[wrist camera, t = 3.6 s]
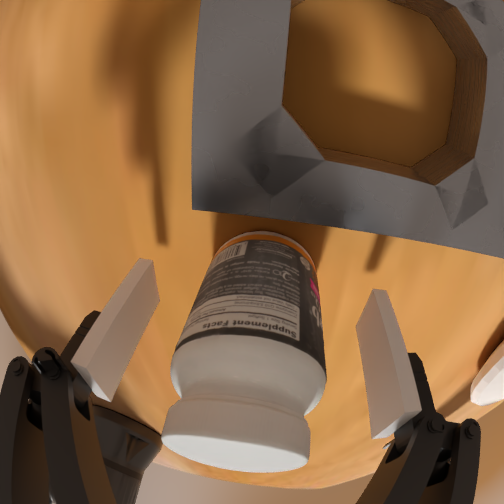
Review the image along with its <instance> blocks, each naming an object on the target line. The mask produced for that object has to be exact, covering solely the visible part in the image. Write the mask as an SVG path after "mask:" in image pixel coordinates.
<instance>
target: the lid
mask: <svg viewBox="0 0 504 504" xmlns="http://www.w3.org/2000/svg"><path fill="white" fill-rule="evenodd" d="M470 397H471V402H473V403H475V404H477V405H480V406H485V405H490V404H493V403H495V402H498V401H500V400H502V399H504V340H503V341H502V342H501V344H500V345H499V346H498V347H497V348H496V349H495V351H494V352H493V353H492V354H491V356H490V357H489V358H488V360H487V361H486V363H485V364H484V365H483V367H482V368H481V370H480V371H479V373H478V374H477V375H476V377H475V378H474V380H473V383H472V385H471V395H470Z"/></svg>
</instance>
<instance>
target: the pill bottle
mask: <svg viewBox="0 0 504 504" xmlns="http://www.w3.org/2000/svg"><path fill="white" fill-rule="evenodd" d="M170 372H171V379H172V383H173V385H174V388H175V390H176V392H177V393H178V395H179V396H180V397H181V399H180V400H178V401H177V402H176V403H175V404H174V405H172V406H171V407H170V408H169V410H168V413H167V417H166V421H165V424H164V428H163V431H162V436H161V440H162V442H163V444H164V445H165V446H167V447H168V448H169V449H171V450H172V451H174V452H176V453H178V454H179V455H181V456H184V457H186V458H188V459H191V460H194V461H197V462H200V463H203V464H206V465H210V466H214V467H218V468H223V469H229V470H235V471H244V472H281V471H288V470H293V469H297V468H300V467H302V466H304V465H305V464H306V463H307V462H308V460H309V454H310V428H309V427H308V423H307V421H306V420H305V418H304V416H305V415H306V414H308V413H309V412H310V411H312V410H313V409H314V408H315V406H316V405H317V404H318V402H319V401H320V399H321V397H322V395H323V392H324V389H325V384H326V380H327V376H326V366H325V354H324V340H323V327H322V319H321V307H320V296H319V288H318V281H317V274H316V269H315V265H314V263H313V261H312V259H311V257H310V255H309V254H308V253H307V251H306V250H305V249H304V248H303V247H302V246H301V245H300V244H299V243H297V242H296V241H294V240H292V239H291V238H289V237H287V236H284V235H281V234H278V233H275V232H269V231H255V232H247V233H244V234H241V235H238V236H236V237H234V238H232V239H230V240H229V241H227V242H226V243H225V244H224V245H223V246H221V247H220V249H219V250H218V251H217V253H216V254H215V256H214V258H213V259H212V261H211V264H210V266H209V268H208V270H207V273H206V275H205V277H204V280H203V282H202V285H201V287H200V289H199V292H198V295H197V297H196V299H195V302H194V304H193V307H192V309H191V312H190V314H189V317H188V319H187V322H186V324H185V326H184V329H183V332H182V334H181V336H180V339H179V341H178V343H177V345H176V349H175V352H174V354H173V357H172V362H171V371H170Z"/></svg>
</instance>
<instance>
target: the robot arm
mask: <svg viewBox="0 0 504 504" xmlns="http://www.w3.org/2000/svg"><path fill="white" fill-rule="evenodd" d="M159 301H160V299H159V293H158V288H157V283H156V277H155V271H154V265H153V260H147V259H141V258H139V260H138V261H137V262H136V264H135V265H134V266H133V268H132V269H131V270H130V272H129V273H128V275H127V276H126V277H125V279H124V280H123V281H122V283H121V284H120V286H119V287H118V289H117V290H116V291H115V293H114V294H113V296H112V297H111V299H110V300H109V302H108V303H107V304H106V306H105V307H104V309H103V310H102V312H98V311H95V310H94V311H93V312H91V313H90V314H89V315H87V316H86V317H85V318H84V320H83V321H82V323H81V324H80V327H78V329H77V330H76V333H75V334H74V335H73V336H72V338H71V340H70V341H69V343H68V344H67V346H66V347H65V349H64V351H63V352H62V354H61V356H59V355H58V354H57V352H56V351H55V350H54V349H53V348H51V347H44V348H42V349H40V350H38V351H37V352H36V353H35V355H34V356H33V358H32V363H33V364H30V363H29V362H28V361H27V360H26V358H24V357H22V356H20V357H16V358H14V359H13V360H12V361H11V362H10V363H9V365H8V368H7V371H6V375H5V379H4V382H3V385H2V389H1V393H0V504H52V503H55V504H135V502H136V498H137V495H138V491H139V487H140V484H141V480H142V476H143V474H144V471H145V469H146V468H147V467H148V466H149V464H150V463H151V462H152V461H153V459H154V458H155V457H156V455H157V454H158V453H159V452H160V450H161V448H162V444H163V442H162V440H161V436H160V435H158V434H157V433H155V432H154V431H152V430H151V429H149V428H147V427H145V426H143V425H142V424H140V423H138V422H136V421H134V420H131V419H129V418H127V417H125V416H123V415H120V414H118V413H116V412H113V411H111V410H108V409H105V408H102V407H99V406H94V405H92V401H91V398H90V396H89V395H90V393H91V391H93V392H94V394H95V395H96V396H97V397H99V398H102V399H104V400H107V401H109V402H111V401H112V399H113V396H114V394H115V392H116V390H117V387H118V385H119V383H120V381H121V379H122V376H123V374H124V372H125V370H126V368H127V366H128V364H129V361H130V359H131V357H132V355H133V353H134V351H135V349H136V347H137V345H138V343H139V341H140V339H141V337H142V335H143V333H144V331H145V329H146V327H147V325H148V323H149V321H150V319H151V317H152V315H153V313H154V311H155V309H156V307H157V305H158V303H159ZM356 331H357V336H358V342H359V347H360V353H361V359H362V365H363V371H364V378H365V384H366V392H367V399H368V408H369V416H370V426H371V437H372V439H377V438H386V437H388V436H390V435H391V434H393V433H394V437H395V439H393V440H392V441H390V442H389V443H387V444H386V445H385V446H384V447H383V449H386V448H387V447H389V448H388V450H387V452H386V454H385V456H384V457H383V459H382V461H381V463H380V465H379V467H378V468H377V470H376V472H375V474H374V476H373V477H372V479H371V481H370V482H369V484H368V486H367V488H366V489H365V490H364V492H363V493H362V495H361V497H360V498H359V500H358V501H357V503H356V504H473V500H474V496H475V490H476V484H477V476H478V468H479V457H480V439H481V431H480V426H479V424H478V422H476V420H474V419H471V418H470V419H466V420H465V421H463V422H462V423H461V424H460V423H453V422H448V421H446V420H445V419H444V417H443V416H442V415H441V414H439V413H437V412H436V410H435V408H434V403H433V399H432V395H431V391H430V388H429V384H428V381H427V377H426V373H425V370H424V367H423V363H422V361H421V360H420V358H419V357H418V355H417V354H416V353H407V350H406V347H405V343H404V340H403V337H402V334H401V331H400V328H399V325H398V322H397V319H396V316H395V313H394V310H393V307H392V305H391V302H390V299H389V296H388V294H387V291H386V290H379V289H373V290H372V292H371V294H370V297H369V299H368V301H367V303H366V305H365V308H364V310H363V312H362V314H361V316H360V318H359V321H358V323H357V325H356ZM28 399H29V401H28ZM450 459H451V461H450Z"/></svg>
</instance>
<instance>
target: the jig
mask: <svg viewBox="0 0 504 504" xmlns="http://www.w3.org/2000/svg"><path fill="white" fill-rule="evenodd" d="M303 1H305V0H201V6H200V14H199V23H198V33H197V45H196V57H195V71H194V89H193V113H192V210H201V211H211V212H221V213H230V214H239V215H248V216H256V217H264V218H272V219H280V220H288V221H295V222H303V223H310V224H317V225H324V226H331V227H338V228H344V229H351V230H357V231H363V232H370V233H376V234H382V235H388V236H393V237H399V238H405V239H410V240H416V241H421V242H427V243H432V244H437V245H442V246H447V247H452V248H457V249H462V250H467V251H472V252H476V253H481V254H486V255H490V256H495V257H499V258H503V259H504V2H503V1H502V0H389V1H392V2H395V3H397V4H400V5H403V6H405V7H408V8H410V9H413V10H415V11H417V12H420V13H422V14H424V15H427V16H429V17H430V18H431V20H432V21H433V23H434V24H435V25H436V27H437V28H438V30H439V31H440V33H441V34H442V36H443V37H444V39H445V40H446V42H447V43H448V45H449V46H450V48H451V50H452V51H453V53H454V55H455V56H456V58H457V70H456V82H455V92H454V100H453V107H452V114H451V120H450V126H449V131H448V136H447V141H446V144H445V145H444V146H442V147H441V148H439V149H438V150H436V151H435V152H433V153H432V154H431V155H429V156H428V157H426V158H425V159H423V160H422V161H420V162H419V163H417V164H416V165H414V166H413V167H411V168H410V167H406V166H402V165H399V164H395V163H391V162H387V161H383V160H379V159H375V158H370V157H366V156H361V155H356V154H352V153H347V152H342V151H336V150H331V149H325V148H319V147H317V146H316V145H315V143H314V142H313V141H312V140H311V138H310V137H309V136H308V134H307V133H306V132H305V131H304V129H303V128H302V127H301V126H300V125H299V123H298V122H297V121H296V120H295V118H294V117H293V116H292V115H291V114H290V112H289V111H288V110H287V109H286V108H285V107H284V105H283V104H282V101H283V91H284V81H285V70H286V60H287V49H288V37H289V26H290V14H291V8H293V7H294V6H296V5H298V4H299V3H301V2H303Z"/></svg>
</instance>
